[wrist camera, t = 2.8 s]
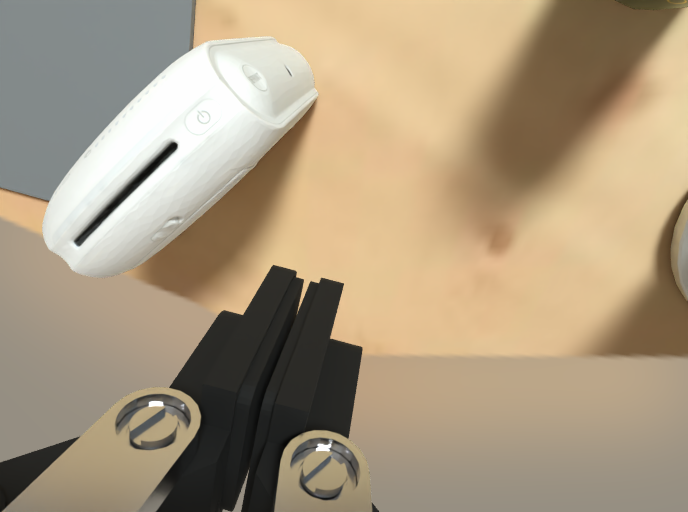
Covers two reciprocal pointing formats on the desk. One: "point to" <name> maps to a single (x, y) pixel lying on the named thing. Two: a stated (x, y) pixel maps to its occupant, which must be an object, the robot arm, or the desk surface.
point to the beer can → (654, 4)
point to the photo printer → (176, 152)
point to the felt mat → (76, 77)
